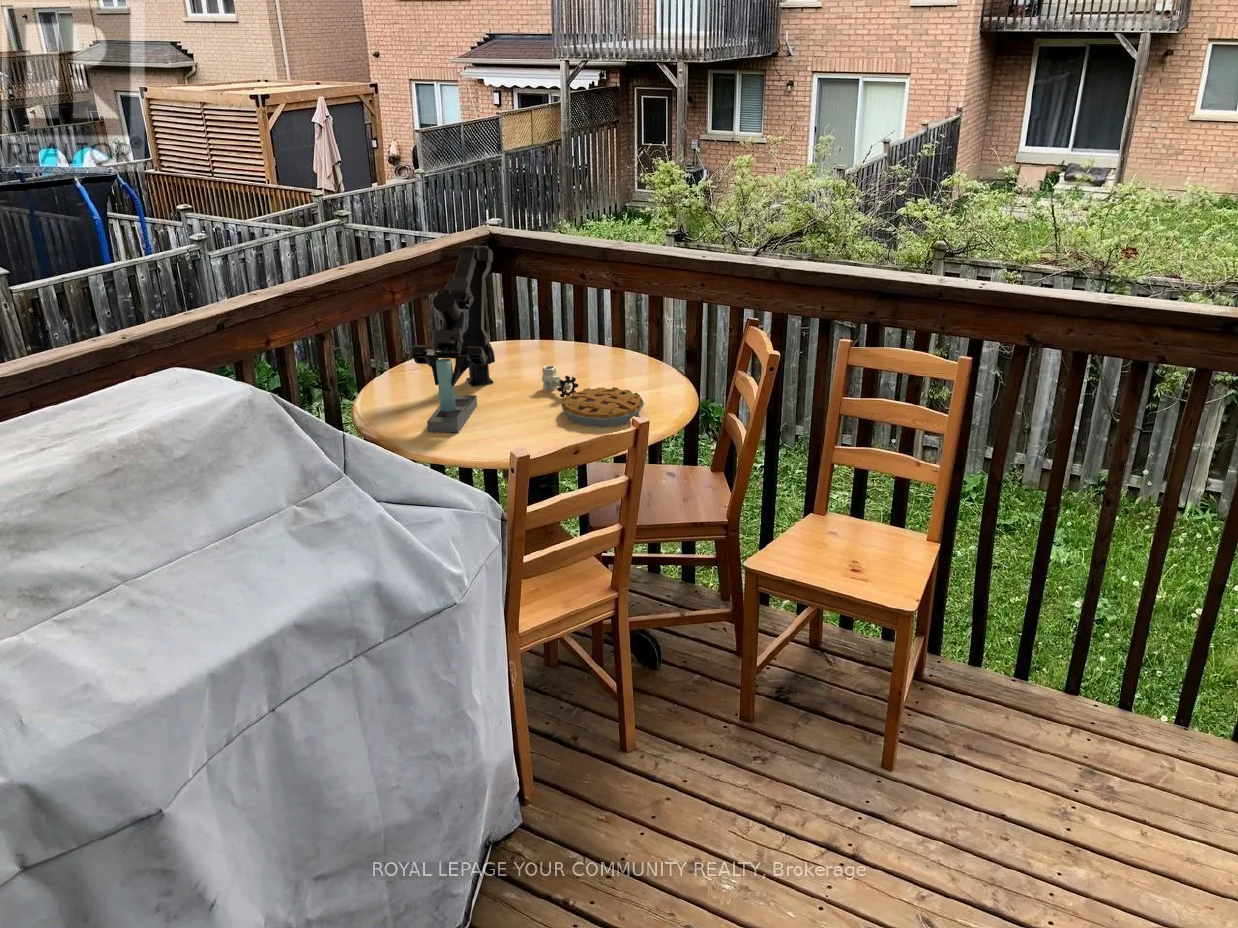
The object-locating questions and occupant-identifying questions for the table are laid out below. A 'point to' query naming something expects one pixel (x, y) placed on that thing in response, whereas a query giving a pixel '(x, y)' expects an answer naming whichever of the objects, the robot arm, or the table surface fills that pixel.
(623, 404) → the pie
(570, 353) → the table surface
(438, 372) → the dowel
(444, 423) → the grey slotted block
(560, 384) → the valve
